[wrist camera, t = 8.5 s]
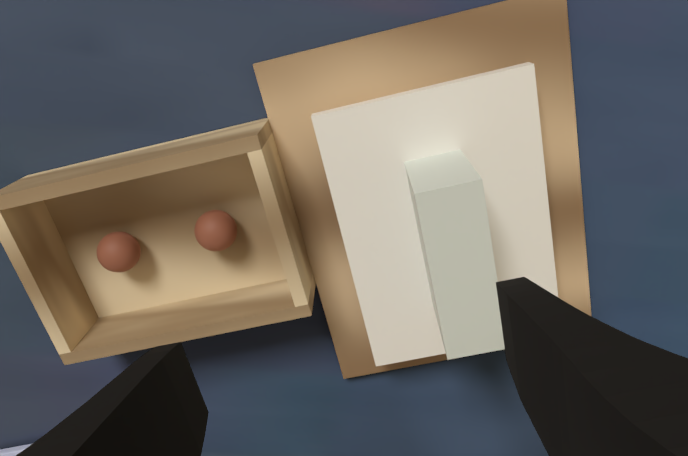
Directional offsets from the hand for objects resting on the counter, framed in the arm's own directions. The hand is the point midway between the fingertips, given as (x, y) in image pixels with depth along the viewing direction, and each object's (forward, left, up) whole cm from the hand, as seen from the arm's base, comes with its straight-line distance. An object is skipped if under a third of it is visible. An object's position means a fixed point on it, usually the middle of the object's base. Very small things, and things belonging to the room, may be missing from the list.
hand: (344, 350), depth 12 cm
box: (0, +7, -10) cm, 13 cm away
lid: (-1, -3, -9) cm, 10 cm away
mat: (-1, -3, -10) cm, 11 cm away
